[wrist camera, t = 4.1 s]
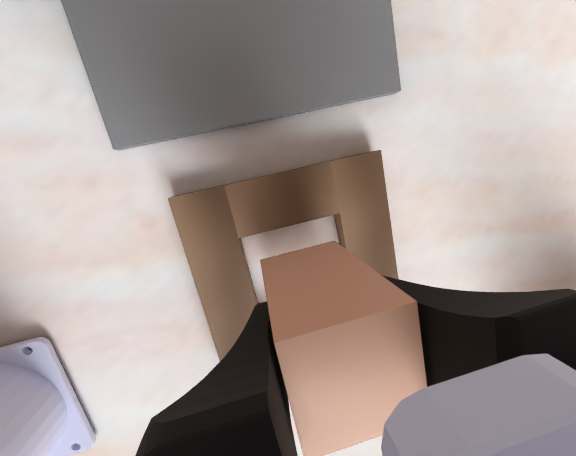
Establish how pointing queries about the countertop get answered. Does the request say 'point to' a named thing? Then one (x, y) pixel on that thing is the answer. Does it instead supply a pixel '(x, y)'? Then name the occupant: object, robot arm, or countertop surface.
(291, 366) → the terracotta block
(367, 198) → the walnut pocket plate
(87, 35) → the slate mat
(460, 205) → the countertop surface
